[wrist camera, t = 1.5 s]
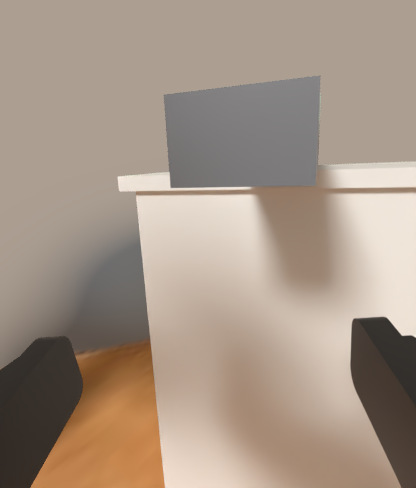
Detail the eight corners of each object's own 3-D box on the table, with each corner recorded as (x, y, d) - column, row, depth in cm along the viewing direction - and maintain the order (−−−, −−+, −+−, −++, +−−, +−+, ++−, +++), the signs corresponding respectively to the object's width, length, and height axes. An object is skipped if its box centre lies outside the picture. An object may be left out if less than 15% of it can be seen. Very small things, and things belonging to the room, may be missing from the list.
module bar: (170, 188, 9) (154, -38, 8) (275, 166, 31) (275, 106, 30) (315, 185, 8) (327, -85, 6) (317, 165, 30) (320, 102, 28)
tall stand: (156, 522, 30) (117, 176, 22) (205, 412, 42) (192, 169, 34) (429, 622, 23) (522, 163, 15) (389, 454, 35) (427, 160, 27)
